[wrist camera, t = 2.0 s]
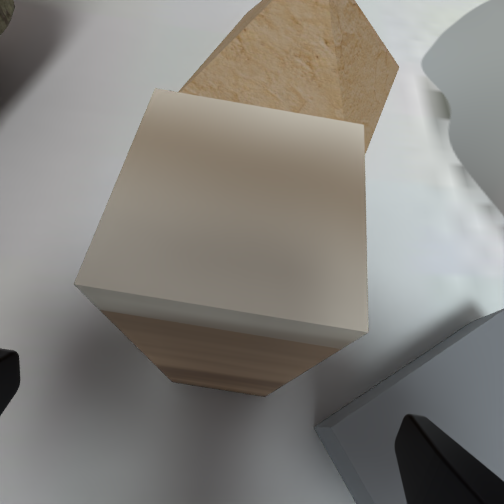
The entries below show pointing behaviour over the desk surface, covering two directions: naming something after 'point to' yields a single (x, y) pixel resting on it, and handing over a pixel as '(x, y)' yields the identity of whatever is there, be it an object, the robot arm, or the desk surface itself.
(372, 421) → the plate
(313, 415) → the desk surface
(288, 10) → the model pyramid
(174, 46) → the desk surface
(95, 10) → the desk surface
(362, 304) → the walnut box
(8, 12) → the tabletop clock
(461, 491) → the robot arm
